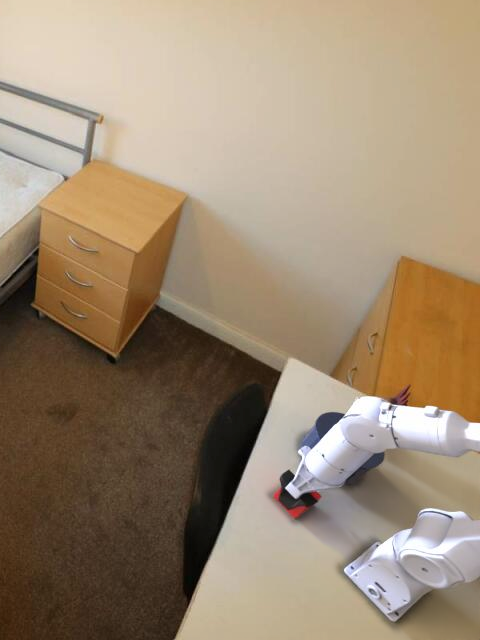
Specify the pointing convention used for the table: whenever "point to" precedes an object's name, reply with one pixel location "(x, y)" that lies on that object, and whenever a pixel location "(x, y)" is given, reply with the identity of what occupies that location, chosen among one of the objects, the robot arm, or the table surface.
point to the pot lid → (325, 425)
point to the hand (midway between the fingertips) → (298, 493)
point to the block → (300, 509)
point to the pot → (312, 441)
